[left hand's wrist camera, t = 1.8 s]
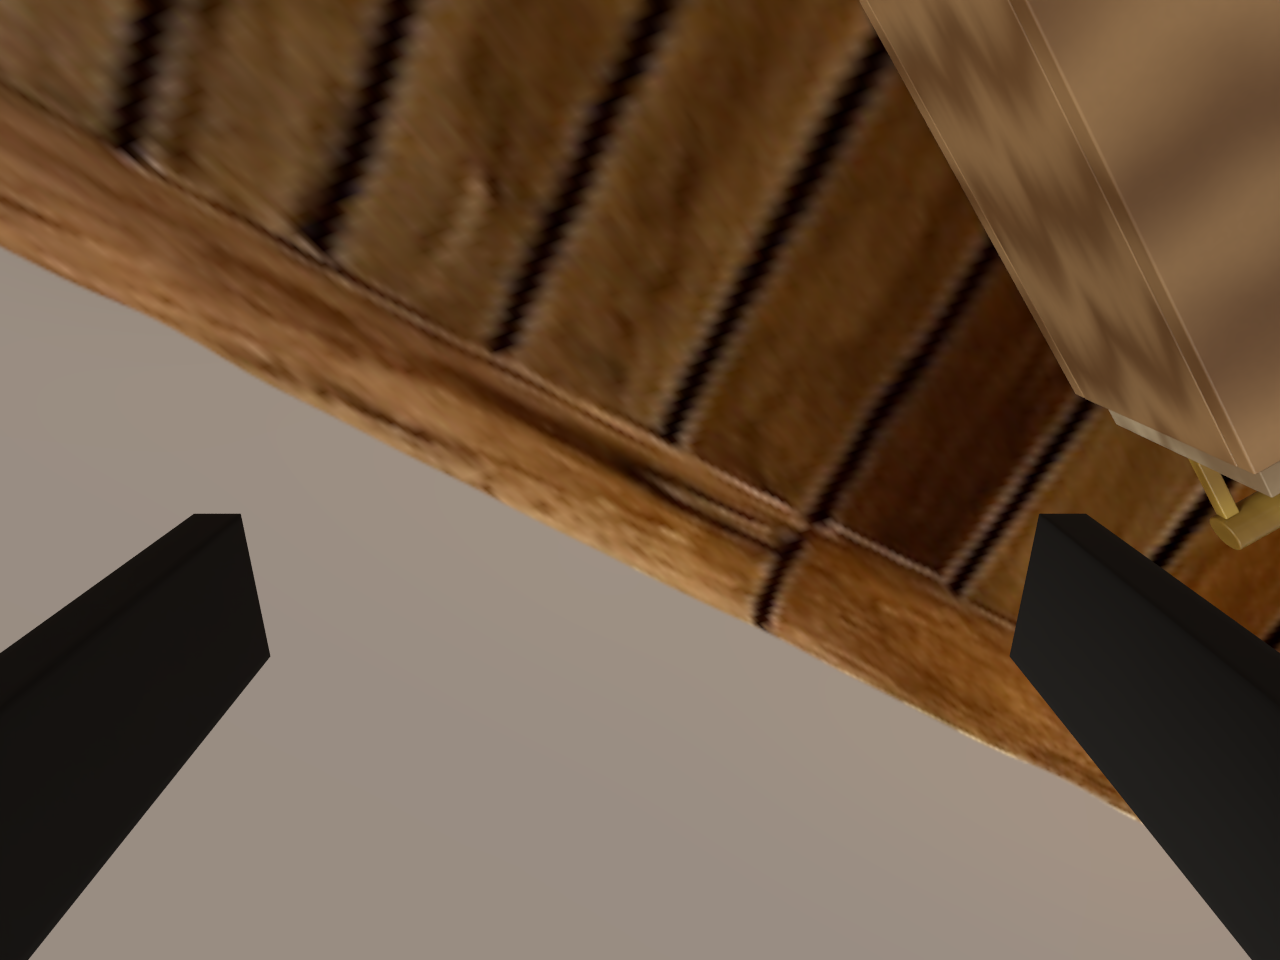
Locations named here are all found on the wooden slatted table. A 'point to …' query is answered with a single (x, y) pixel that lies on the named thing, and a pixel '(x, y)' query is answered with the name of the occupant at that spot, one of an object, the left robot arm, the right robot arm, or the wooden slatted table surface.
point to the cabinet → (1123, 191)
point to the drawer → (1226, 490)
